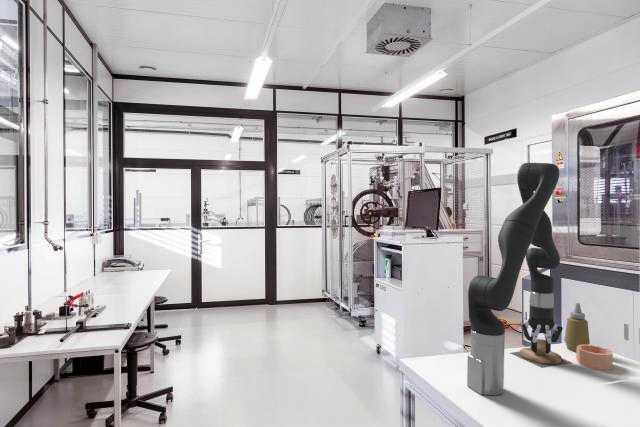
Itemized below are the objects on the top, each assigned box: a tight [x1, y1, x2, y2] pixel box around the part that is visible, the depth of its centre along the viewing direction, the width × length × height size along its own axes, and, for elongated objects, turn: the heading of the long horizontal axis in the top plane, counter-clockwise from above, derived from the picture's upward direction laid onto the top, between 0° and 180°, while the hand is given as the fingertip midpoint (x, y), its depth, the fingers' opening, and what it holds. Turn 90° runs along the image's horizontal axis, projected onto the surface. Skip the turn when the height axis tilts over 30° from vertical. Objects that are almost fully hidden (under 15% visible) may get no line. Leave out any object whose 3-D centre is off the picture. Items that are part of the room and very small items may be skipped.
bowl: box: [575, 344, 614, 371], centre depth 138 cm, size 10×10×6 cm
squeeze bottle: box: [563, 302, 591, 353], centre depth 151 cm, size 8×8×18 cm
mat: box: [509, 351, 573, 369], centre depth 143 cm, size 14×14×1 cm
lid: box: [519, 338, 562, 366], centre depth 143 cm, size 13×13×6 cm
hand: (540, 352), depth 143 cm, fingers closed on lid, 3 cm apart
